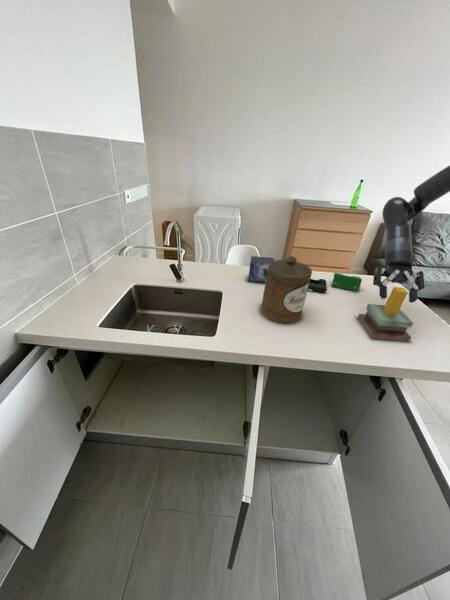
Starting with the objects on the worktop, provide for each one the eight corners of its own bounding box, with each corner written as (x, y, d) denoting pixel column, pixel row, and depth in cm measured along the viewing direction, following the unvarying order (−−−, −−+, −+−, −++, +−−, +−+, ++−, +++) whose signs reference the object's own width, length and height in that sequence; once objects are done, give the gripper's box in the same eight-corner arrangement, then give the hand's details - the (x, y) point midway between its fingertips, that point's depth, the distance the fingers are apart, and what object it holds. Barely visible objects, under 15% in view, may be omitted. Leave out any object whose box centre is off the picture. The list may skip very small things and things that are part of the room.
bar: (392, 311, 83) (403, 287, 78) (396, 315, 80) (408, 292, 76) (383, 309, 83) (393, 286, 79) (386, 314, 81) (397, 291, 76)
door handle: (285, 267, 121) (280, 279, 108) (327, 275, 116) (327, 288, 102) (284, 274, 123) (279, 285, 110) (325, 282, 117) (325, 295, 104)
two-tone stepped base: (389, 320, 90) (397, 304, 87) (408, 341, 80) (418, 324, 77) (357, 317, 91) (363, 302, 87) (371, 338, 81) (379, 322, 77)
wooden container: (290, 329, 83) (304, 270, 71) (253, 312, 90) (261, 257, 79) (306, 310, 93) (321, 256, 82) (272, 297, 101) (281, 246, 89)
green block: (349, 294, 115) (363, 279, 111) (350, 297, 109) (365, 281, 106) (327, 280, 117) (340, 264, 113) (328, 282, 111) (341, 266, 107)
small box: (247, 282, 111) (250, 260, 106) (248, 276, 117) (250, 255, 111) (271, 284, 111) (274, 263, 105) (270, 278, 116) (274, 257, 111)
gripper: (381, 246, 79) (380, 294, 75) (429, 251, 77) (430, 300, 73) (370, 256, 86) (369, 299, 82) (414, 260, 84) (414, 305, 80)
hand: (398, 300), depth 78 cm, fingers open, 8 cm apart
